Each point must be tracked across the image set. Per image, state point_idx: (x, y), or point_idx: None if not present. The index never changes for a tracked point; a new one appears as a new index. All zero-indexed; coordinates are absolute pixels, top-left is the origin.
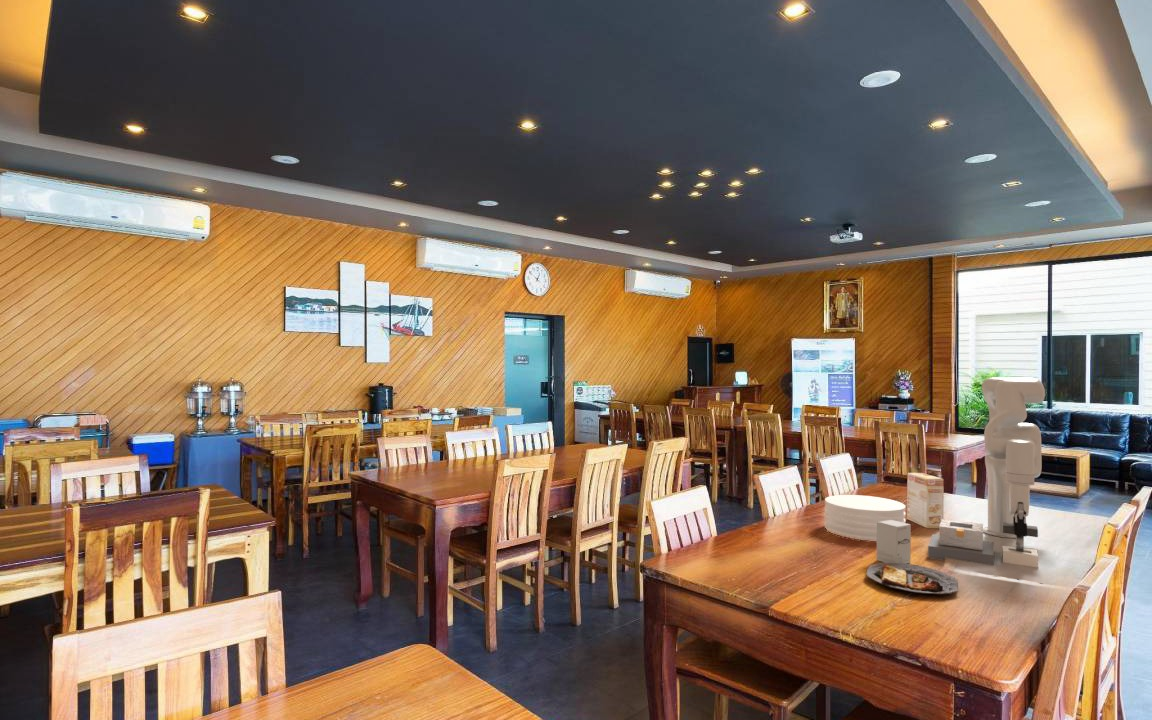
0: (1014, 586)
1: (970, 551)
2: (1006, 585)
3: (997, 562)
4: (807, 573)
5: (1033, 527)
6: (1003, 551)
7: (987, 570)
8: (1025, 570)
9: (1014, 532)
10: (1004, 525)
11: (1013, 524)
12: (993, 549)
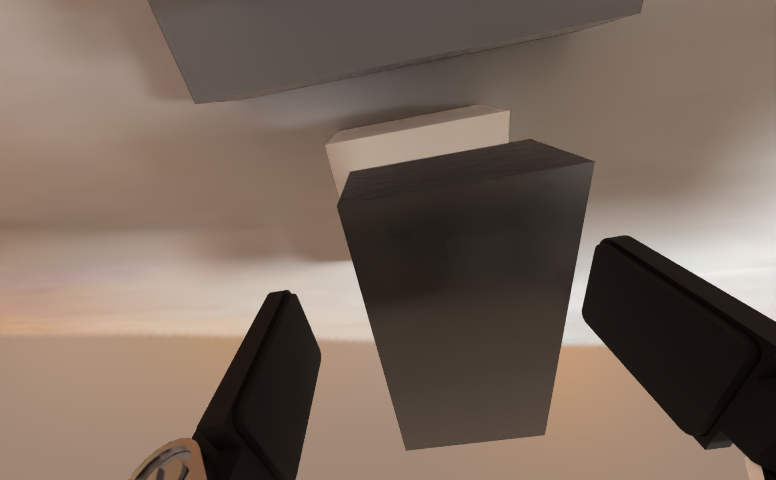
0: (38, 228)
1: None
2: (11, 202)
3: (381, 93)
4: None
5: (477, 426)
6: (326, 147)
7: (158, 80)
8: (333, 223)
9: (262, 306)
10: (348, 223)
11: (513, 297)
12: (375, 65)
